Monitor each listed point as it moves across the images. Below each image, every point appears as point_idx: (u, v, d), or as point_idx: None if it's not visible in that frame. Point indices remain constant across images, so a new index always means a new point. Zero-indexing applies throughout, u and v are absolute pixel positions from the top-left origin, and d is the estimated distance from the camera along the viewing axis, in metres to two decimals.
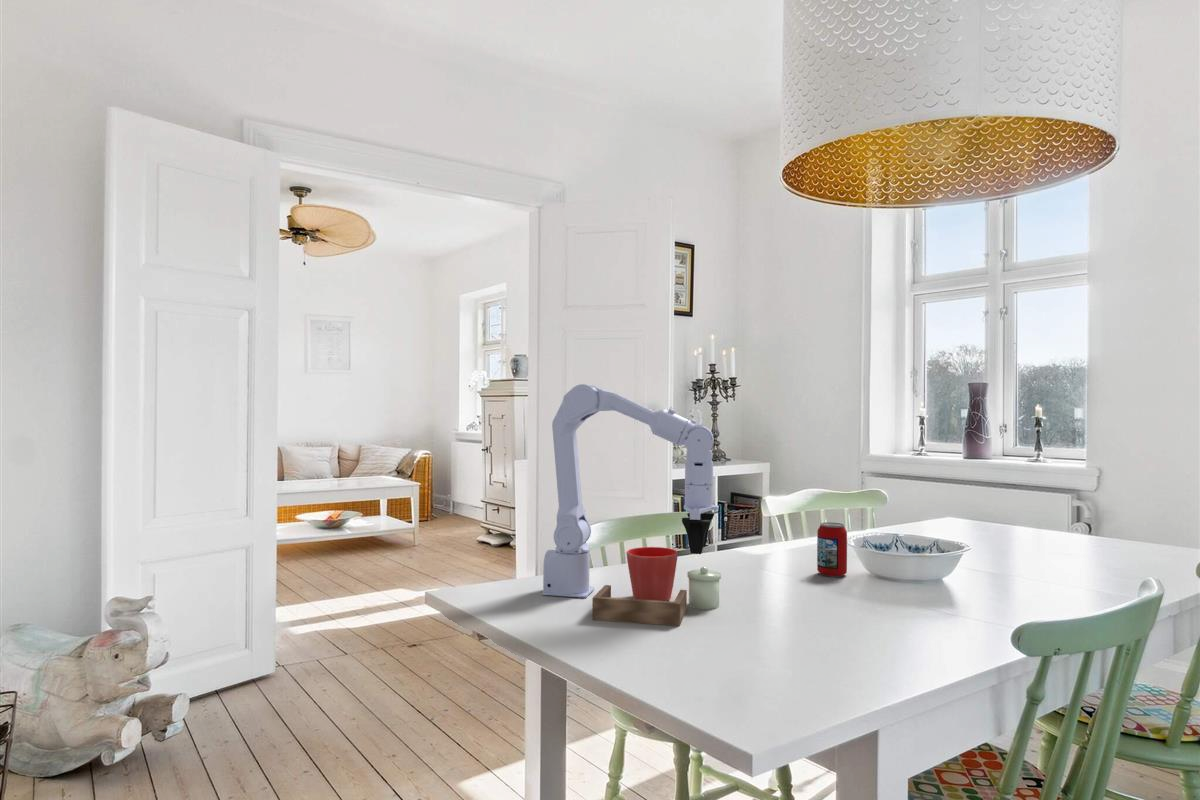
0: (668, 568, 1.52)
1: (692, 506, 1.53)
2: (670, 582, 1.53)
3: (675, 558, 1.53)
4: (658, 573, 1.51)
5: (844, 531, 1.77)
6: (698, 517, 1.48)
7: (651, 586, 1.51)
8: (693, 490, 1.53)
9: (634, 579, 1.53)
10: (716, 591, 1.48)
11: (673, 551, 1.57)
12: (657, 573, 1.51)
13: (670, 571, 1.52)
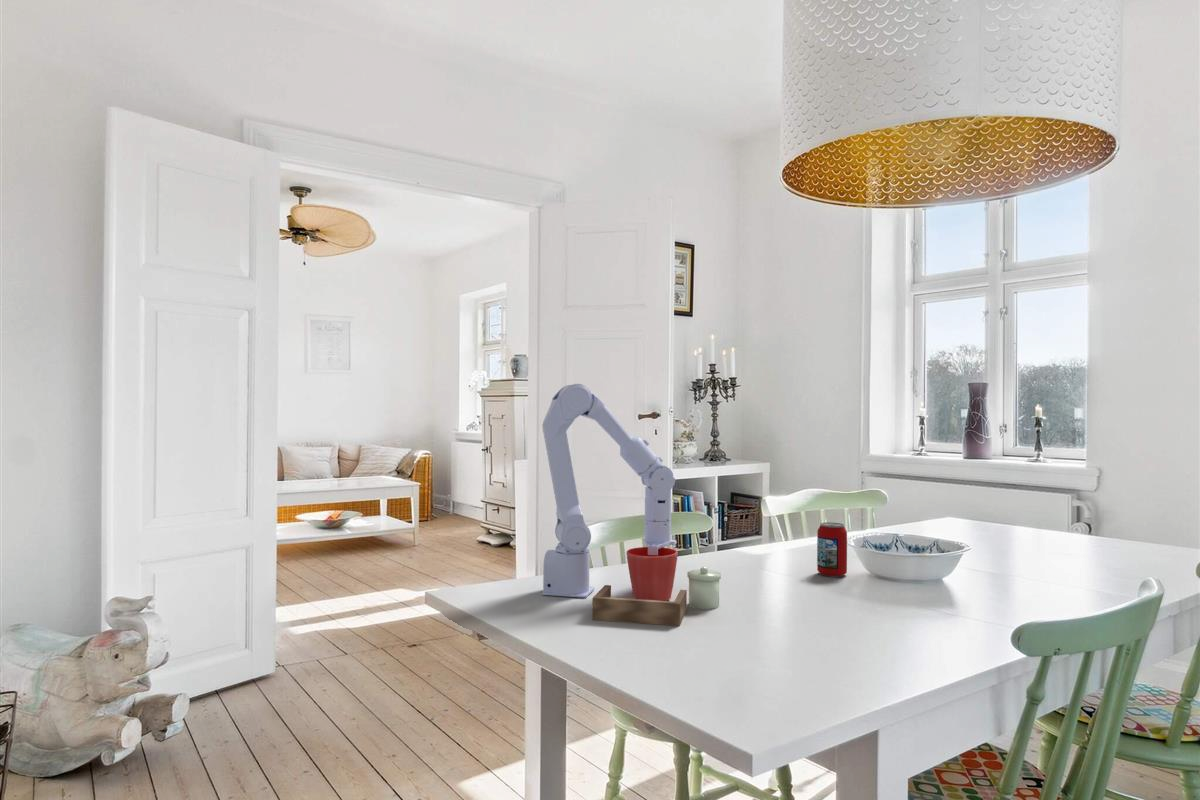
0: (668, 568, 1.52)
1: (651, 541, 1.61)
2: (670, 582, 1.53)
3: (675, 558, 1.53)
4: (658, 573, 1.51)
5: (844, 531, 1.77)
6: (656, 553, 1.56)
7: (651, 586, 1.51)
8: (652, 526, 1.61)
9: (634, 579, 1.53)
10: (716, 591, 1.48)
11: (673, 551, 1.57)
12: (657, 573, 1.51)
13: (670, 571, 1.52)
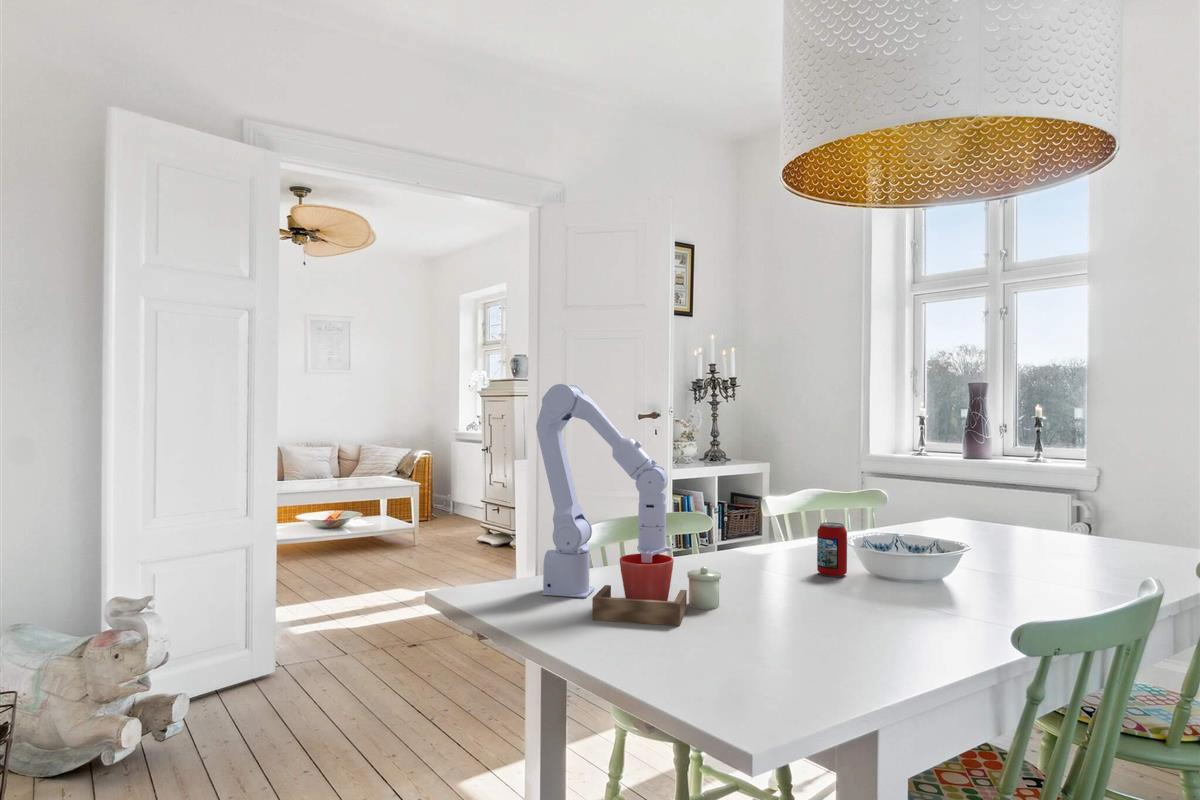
0: (664, 576, 1.44)
1: (645, 548, 1.53)
2: (666, 591, 1.45)
3: (671, 565, 1.46)
4: (653, 582, 1.43)
5: (844, 531, 1.77)
6: (650, 560, 1.48)
7: (646, 595, 1.43)
8: (646, 531, 1.53)
9: (628, 588, 1.45)
10: (716, 591, 1.48)
11: (668, 558, 1.50)
12: (652, 582, 1.43)
13: (666, 579, 1.45)
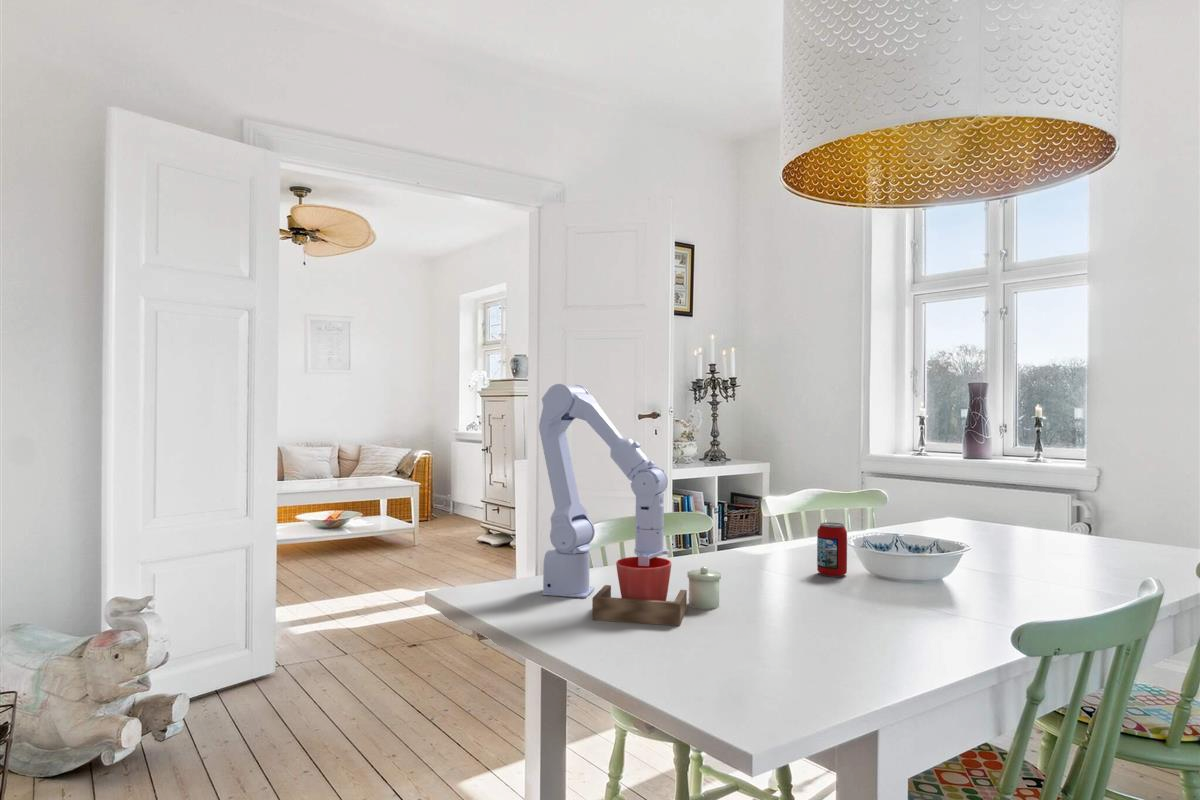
0: (661, 580, 1.41)
1: (642, 551, 1.50)
2: (663, 595, 1.42)
3: (669, 569, 1.43)
4: (651, 586, 1.40)
5: (844, 531, 1.77)
6: (647, 563, 1.45)
7: None
8: (643, 534, 1.50)
9: (625, 592, 1.42)
10: (716, 591, 1.48)
11: (666, 561, 1.46)
12: (650, 586, 1.40)
13: (663, 583, 1.41)
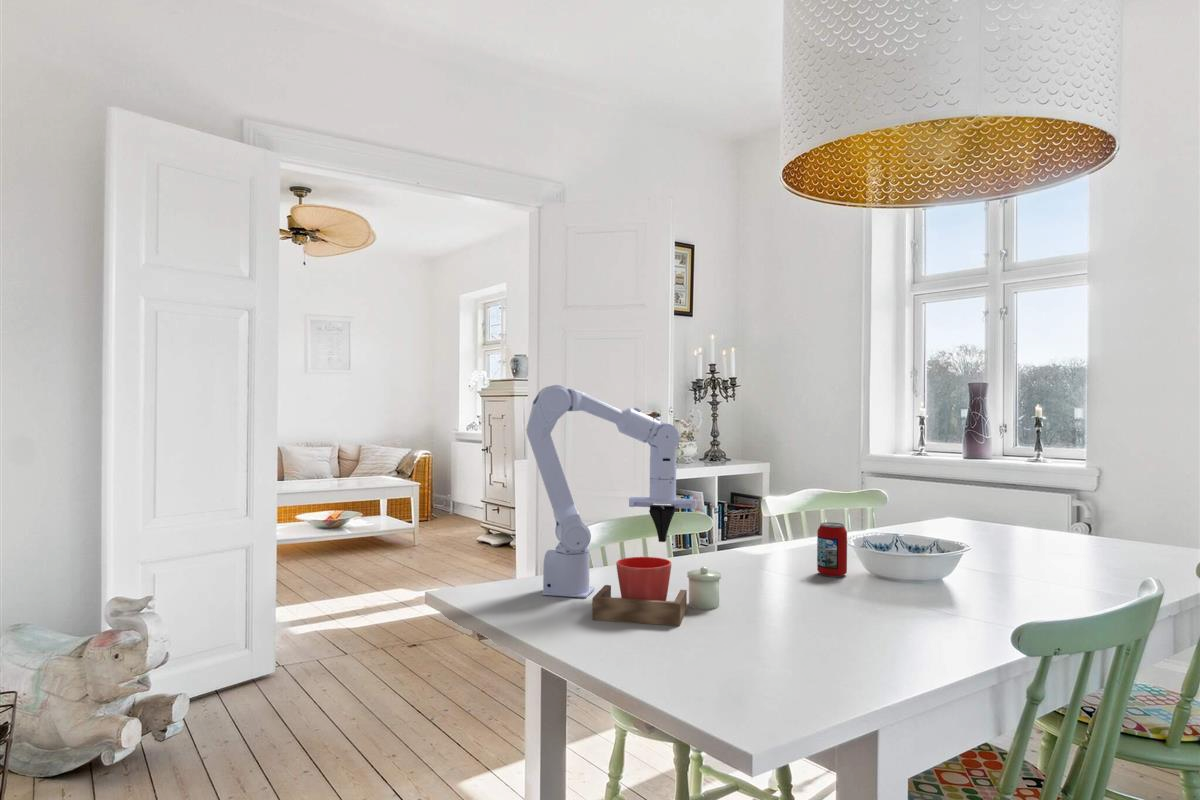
0: (661, 580, 1.41)
1: None
2: (663, 595, 1.42)
3: (669, 569, 1.43)
4: (651, 586, 1.40)
5: (844, 531, 1.77)
6: None
7: None
8: None
9: (625, 592, 1.42)
10: (716, 591, 1.48)
11: (666, 561, 1.47)
12: (650, 586, 1.40)
13: (664, 583, 1.42)
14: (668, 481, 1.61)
